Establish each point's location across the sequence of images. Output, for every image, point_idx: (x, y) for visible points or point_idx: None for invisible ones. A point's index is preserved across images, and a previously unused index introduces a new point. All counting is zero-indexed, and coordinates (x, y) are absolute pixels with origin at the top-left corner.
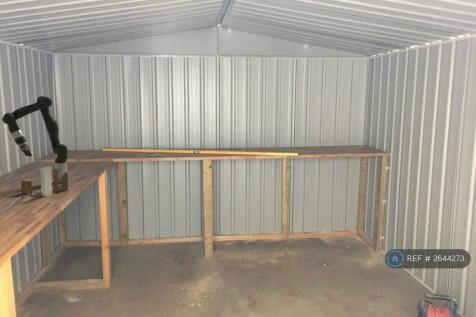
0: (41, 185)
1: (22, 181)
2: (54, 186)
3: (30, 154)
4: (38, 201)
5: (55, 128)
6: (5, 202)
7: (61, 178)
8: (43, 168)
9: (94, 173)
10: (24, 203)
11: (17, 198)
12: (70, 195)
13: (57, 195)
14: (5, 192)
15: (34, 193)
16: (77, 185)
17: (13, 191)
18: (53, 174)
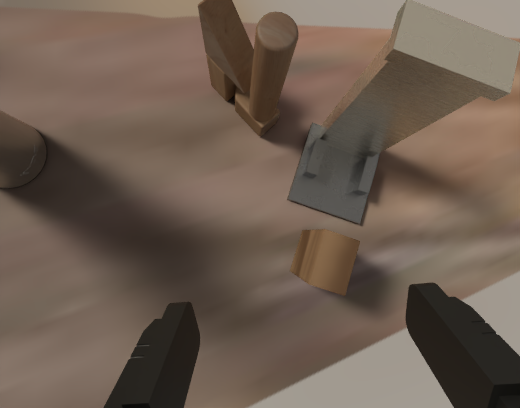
0: (399, 140)
1: (348, 282)
2: (273, 114)
3: (184, 338)
4: (450, 147)
5: None
6: (478, 286)
7: (242, 54)
8: (489, 59)
9: None
10: (486, 196)
11: (406, 262)
12: (338, 38)
13: (341, 95)
14: (287, 381)
15: (329, 208)
16: (113, 46)
17: (263, 347)
18: (283, 75)
